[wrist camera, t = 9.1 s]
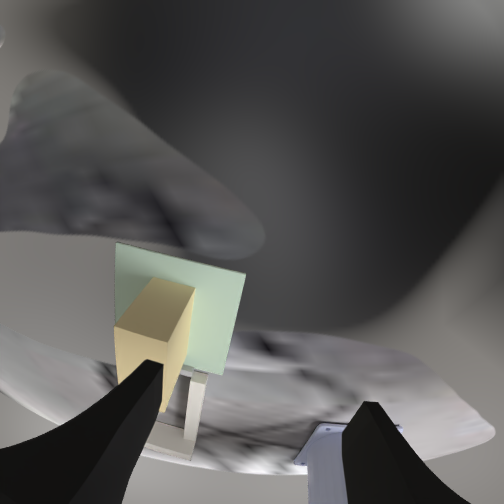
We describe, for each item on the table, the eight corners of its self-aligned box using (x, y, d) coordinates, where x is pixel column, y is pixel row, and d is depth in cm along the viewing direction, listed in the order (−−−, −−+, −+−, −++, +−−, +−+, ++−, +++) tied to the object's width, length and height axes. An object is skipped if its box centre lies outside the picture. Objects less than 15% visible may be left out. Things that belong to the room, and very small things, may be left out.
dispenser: (209, 369, 22) (201, 396, 20) (196, 438, 26) (190, 460, 24) (129, 346, 22) (114, 369, 20) (134, 419, 26) (124, 440, 24)
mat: (246, 273, 19) (246, 274, 19) (222, 373, 23) (222, 375, 22) (117, 241, 19) (115, 242, 19) (117, 343, 22) (116, 344, 22)
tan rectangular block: (195, 287, 20) (167, 342, 14) (186, 354, 22) (164, 412, 16) (153, 276, 20) (113, 326, 14) (149, 344, 22) (120, 398, 16)
